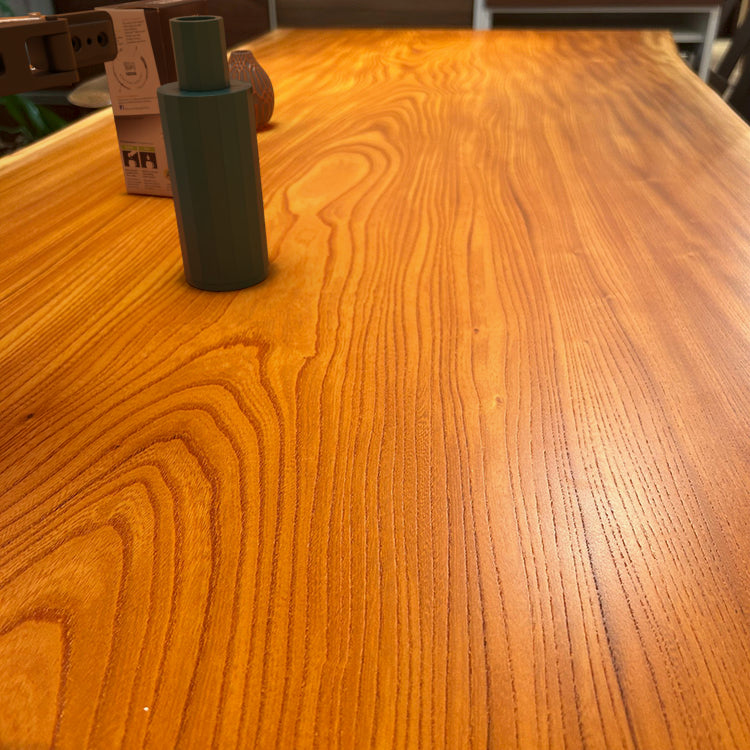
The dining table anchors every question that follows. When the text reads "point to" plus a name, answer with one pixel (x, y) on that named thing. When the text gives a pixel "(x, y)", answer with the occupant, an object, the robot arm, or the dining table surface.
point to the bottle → (213, 161)
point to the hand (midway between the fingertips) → (48, 31)
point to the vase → (254, 84)
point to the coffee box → (144, 86)
